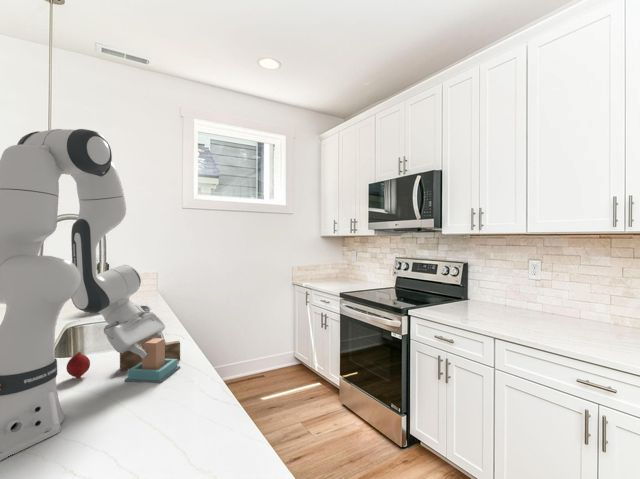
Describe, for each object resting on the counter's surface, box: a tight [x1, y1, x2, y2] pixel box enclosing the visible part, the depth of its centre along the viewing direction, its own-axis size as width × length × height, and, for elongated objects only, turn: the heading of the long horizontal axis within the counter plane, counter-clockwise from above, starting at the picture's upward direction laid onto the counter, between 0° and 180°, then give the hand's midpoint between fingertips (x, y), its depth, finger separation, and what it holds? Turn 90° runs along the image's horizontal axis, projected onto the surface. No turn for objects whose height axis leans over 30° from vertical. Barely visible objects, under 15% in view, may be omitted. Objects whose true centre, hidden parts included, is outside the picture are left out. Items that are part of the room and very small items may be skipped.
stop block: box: [141, 337, 166, 370], centre depth 104 cm, size 5×5×10 cm
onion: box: [66, 350, 91, 379], centre depth 102 cm, size 6×6×8 cm
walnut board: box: [119, 340, 181, 372], centre depth 113 cm, size 18×2×6 cm, turn 121°
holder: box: [124, 359, 181, 384], centre depth 104 cm, size 11×11×3 cm
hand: (155, 350), depth 104 cm, fingers open, 8 cm apart
